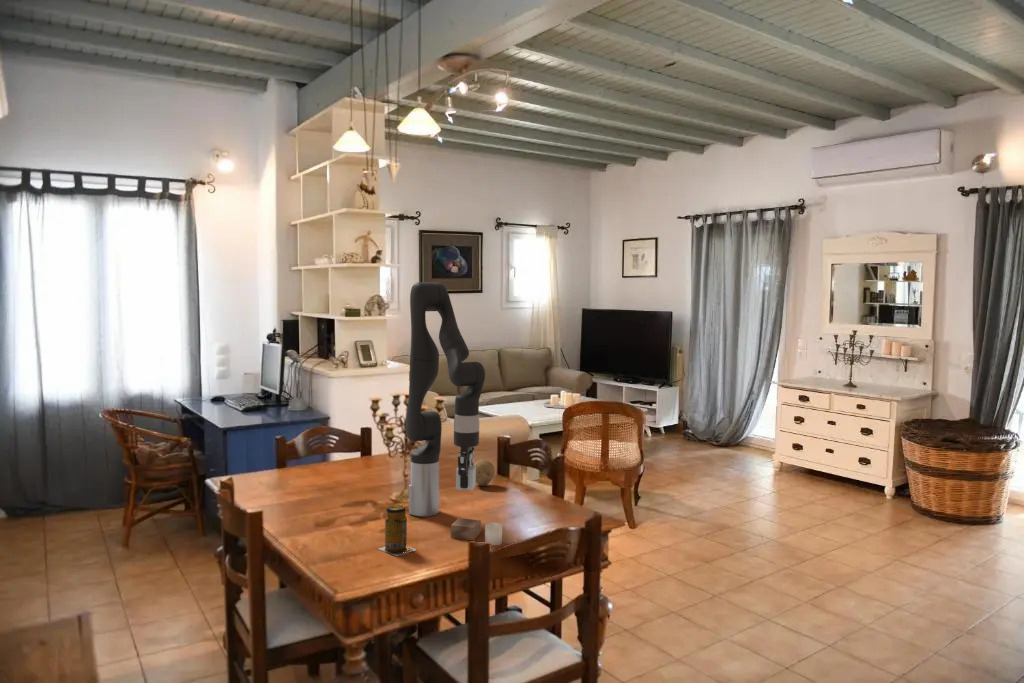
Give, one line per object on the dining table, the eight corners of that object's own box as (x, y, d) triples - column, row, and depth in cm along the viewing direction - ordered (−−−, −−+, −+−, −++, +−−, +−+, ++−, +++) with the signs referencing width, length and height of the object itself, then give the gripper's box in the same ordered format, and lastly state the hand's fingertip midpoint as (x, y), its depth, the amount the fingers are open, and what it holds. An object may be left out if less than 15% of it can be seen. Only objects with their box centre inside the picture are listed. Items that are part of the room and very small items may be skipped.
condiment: (398, 543, 214) (398, 502, 213) (416, 550, 208) (417, 508, 207) (377, 549, 208) (377, 507, 207) (396, 557, 203) (396, 514, 202)
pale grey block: (472, 490, 217) (472, 470, 217) (455, 489, 218) (456, 469, 217) (475, 485, 222) (475, 466, 222) (459, 484, 223) (459, 465, 222)
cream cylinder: (483, 545, 213) (483, 528, 213) (486, 539, 218) (486, 522, 218) (500, 545, 212) (501, 529, 212) (503, 540, 217) (503, 523, 217)
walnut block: (450, 538, 219) (451, 525, 218) (458, 530, 225) (458, 518, 225) (473, 540, 217) (473, 527, 217) (480, 533, 224) (480, 520, 223)
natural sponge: (491, 490, 269) (491, 463, 268) (467, 488, 270) (468, 462, 270) (496, 483, 278) (496, 457, 277) (473, 482, 279) (473, 456, 278)
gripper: (475, 434, 211) (474, 493, 212) (482, 425, 225) (482, 479, 227) (449, 433, 212) (448, 491, 213) (458, 423, 226) (458, 478, 227)
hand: (465, 485), depth 220 cm, fingers closed on pale grey block, 5 cm apart
